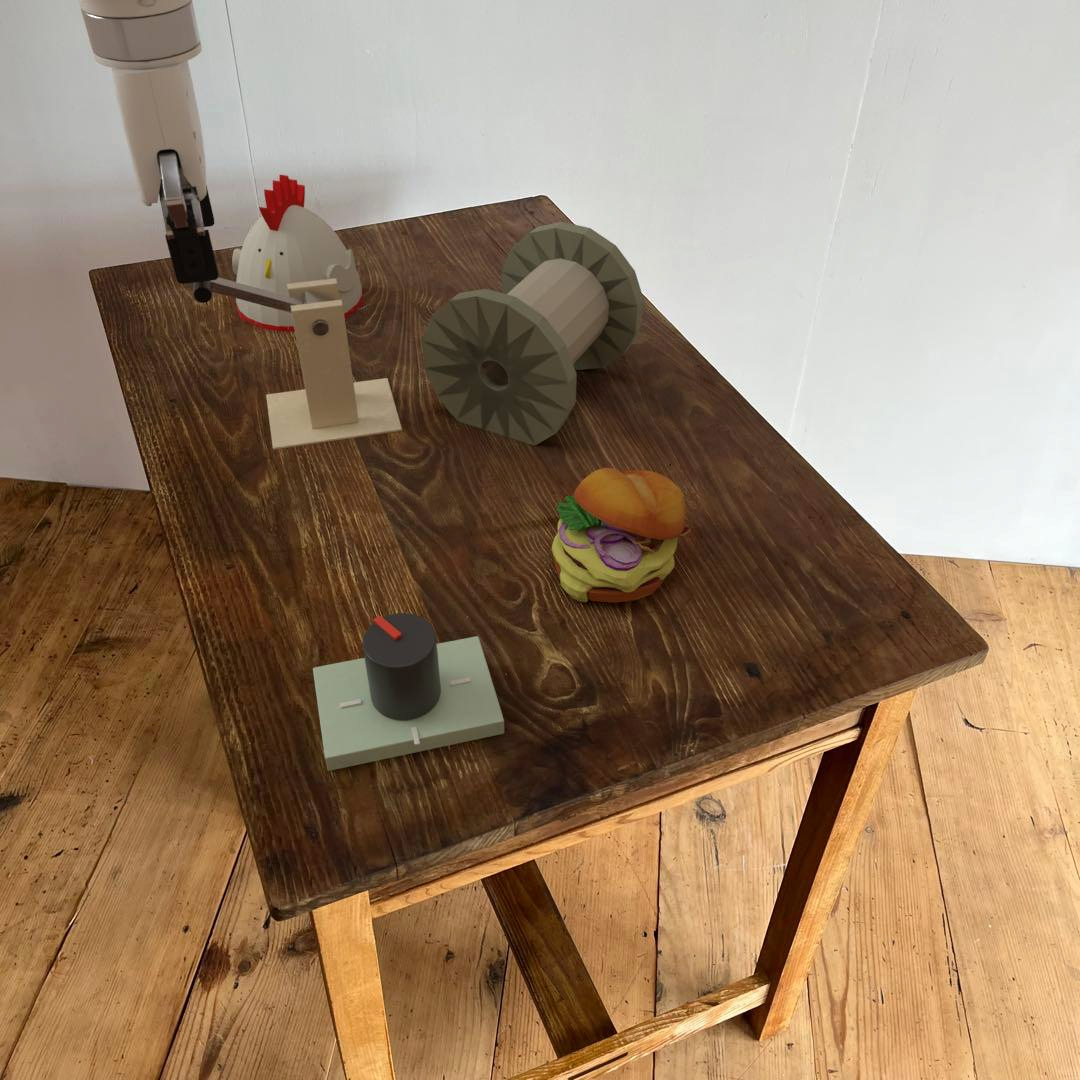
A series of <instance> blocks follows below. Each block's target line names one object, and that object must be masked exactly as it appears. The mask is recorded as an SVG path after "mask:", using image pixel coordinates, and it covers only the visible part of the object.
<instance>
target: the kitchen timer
mask: <svg viewBox="0 0 1080 1080" xmlns="http://www.w3.org/2000/svg"><path fill="white" fill-rule="evenodd" d="M278 178H279V179H278V180H274V179H273V180H272V189H266V188H264V189H263V193H264V202H265V206H266V207H264V206H263V207H262V206H259V207H258V210H259V212H260V217H259V218H258V219H257V220H256V221H255V223H253V225H252V226H251V228H250V229H249V231H248V233H247V235H246V237H245V239H244V241H243V244H242V246H241V249H240V248H235V249H234V250H233V252H232V257H231V258H232V259H231V261H232V262H231V264H232V271H233V274H234V275H235V276H236V281H235V282H237V283H241V284H244V285H248V286H252V287H255V288H259V289H262V290H266V291H270V292H273V293H277V294H281V295H284V296H288V297H289V294H288V289H287V284H291V283H299V282H308V281H316V280H325V279H333V278H336V280H337V284H338V291H339V298H340V300H342V304H343V310H344V317H345V319H347V318H350V316H351V315H353V314H354V312H356V311H357V310H358V309H359V307H361V306H364V295H363V294H364V293H363V286H362V281H361V279H360V276H359V273H358V270H357V267H356V262H355V257H354V252H353V250H352V248H349V249H347V248H346V246H345V244H344V243H343V241H342V240H341V239H340V237H339V236H338V234H337V233H336V232H335V230H334V229H333V228H332V227H331V226H330V224H329V223H327V221H325V220H324V219H323V218H322V217H321V216H319V215H318V214H317V213H315V212H313V211H312V210H310V209H308V208H306V207H305V202H306V201H305V200H306V199H305V198H306V186H305V184H298V180H297V179H293V178H289V175H286V174H279V176H278ZM235 304H236V308H237V313H238V317H239V319H240V321H247V322H248V323H249V324H250V325H253V326H256V327H259V328H261V329H265V330H269V331H270V330H271V331H276V332H295V329H294V323H293V317H292V313H289V312H286V311H282V310H278V309H274V308H271V307H267V306H263V305H260V304H256V303H252V302H248V301H245V300H241V299H237V298H235Z"/></svg>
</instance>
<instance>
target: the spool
mask: <svg viewBox="0 0 1080 1080" xmlns="http://www.w3.org/2000/svg"><path fill="white" fill-rule="evenodd" d="M641 289H642V288H641V286H640V283H639V280H638V277H637V273H636V270H635V269H634V267H633V266H632V265H631V263H630V262H629V261H628V259H627V258H626V257H625V255H624V254H623V253H622V251H621V250H620V249H619V248H618V246H617V245H616V244H615V243H613V242H612V241H610V240H609V239H607V238H606V237H604V236H603V235H602V234H600V233H599V232H597V231H595V230H594V229H592V228H591V227H587V226H583V225H578V224H575V223H570V222H565V221H559V222H554V223H549V224H544V225H540V226H536V227H535V228H534V229H532V230H531V231H530V232H528V234H526V235H525V236H524V237H523V238H522V239H520V240H519V241H518V242H517V243H516V244H514V245H513V246H512V247H511V248H510V250H509V252H508V255H507V257H506V259H505V261H504V264H503V267H502V269H501V292H499V291H495V290H491V289H488V288H482V289H481V288H480V289H475V290H469V291H463V292H459V293H457V294H456V295H455V296H453V297H452V298H451V299H449V300H448V301H447V302H446V303H445V304H444V305H442V306H441V307H440V308H439V309H438V310H436V311H435V312H434V313H433V314H431V315H430V316H429V320H428V323H427V325H426V327H425V330H424V333H423V336H422V339H421V346H422V357H423V368H424V371H425V373H426V375H427V378H428V380H429V382H430V384H431V387H432V389H433V391H434V394H435V396H436V397H437V399H438V400H439V401H440V402H441V403H442V405H443V406H444V407H445V408H446V409H447V411H448V412H449V413H450V414H451V416H452V417H453V418H454V419H455V421H457V422H459V423H461V424H465V425H469V426H471V427H475V428H477V429H481V430H484V431H487V432H489V433H493V434H497V435H500V436H503V437H505V438H509V439H512V440H515V441H519V442H521V443H524V444H528V445H530V446H537V445H539V444H540V443H542V442H543V441H545V440H547V439H549V438H551V437H553V436H554V435H556V434H557V433H558V432H559V431H560V430H561V428H562V427H563V426H564V425H565V424H566V421H567V419H568V417H569V416H570V414H571V412H572V410H573V409H574V406H575V405H576V403H577V402H576V401H577V372H576V370H577V371H581V370H582V371H583V370H592V369H602V368H605V367H606V366H608V365H609V364H611V363H612V362H614V361H617V359H619V358H621V357H623V355H625V354H626V353H627V351H628V350H629V349H630V347H631V345H632V344H633V342H634V340H635V339H636V338H637V335H638V333H639V332H640V330H641V328H642V325H643V315H644V314H643V313H644V302H645V299H644V295H643V293H642V290H641Z"/></svg>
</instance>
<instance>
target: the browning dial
mask: <svg viewBox="0 0 1080 1080" xmlns="http://www.w3.org/2000/svg"><path fill="white" fill-rule="evenodd" d="M361 643H362V645H361V646H362V651H363V658H365V664H366V670H367V676H368V682H369V689H370V695H371V700H372V703H373V705H374V707H375V708H376V709H377V711H378V712H380V713H381V714H382V715H384V716H386V717H388V718H391V719H395V720H411V719H415V718H418V717H421V716H423V715H425V714H426V713H428V712H429V711H430V710H432V709H433V708H434V706H435V705H436V704H437V702H438V700H439V698H440V694H441V685H440V673H439V662H438V651H437V644H438V639H437V633H436V631H435V628H434V627H433V625H432V623H430V621H428V620H427V619H425V618H424V617H422V616H419V615H418V614H413V613H407V612H397V613H392V614H387V615H385V616H382V615H378V616H376V617H375V618H373V622H372V624H370V625H369V626H368V628H367V629H366V631H365V632H364V634H363V637H362V642H361Z"/></svg>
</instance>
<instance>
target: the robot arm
mask: <svg viewBox="0 0 1080 1080" xmlns="http://www.w3.org/2000/svg"><path fill="white" fill-rule="evenodd" d="M78 3H79V7H80V11H81V15H82V18H83V21H84V25H85V26H84V27H85V29H86V33H87V36H88V39H89V43H90V46H91V50H92V54H93V58H94V60H95V61H96V62H97V63H98V64H100V65H101V66H104V67H107V68H111V71H112V72H111V73H112V79H113V84H114V89H115V90H114V91H115V95H116V101H117V104H118V109H119V113H120V117H121V121H122V126H123V131H124V135H125V139H126V142H127V147H128V152H129V155H130V159H131V163H132V167H133V171H134V175H135V179H136V184H137V188H138V192H139V198H140V202H142V204H144V206H146V207H152V206H153V205H152V204H158V201H159V202H160V206H161V213H162V218H163V223H164V229H165V233H166V234H165V235H164V236H165V241H166V245H167V248H168V252H169V257H170V260H171V264H172V268H173V272H174V276H175V279H176V282H177V283H178V284H180V285H186V284H193V283H195V282H203V281H211V280H216V279H217V278H218V277H219V270H218V266H217V262H216V257H215V253H214V252H215V251H214V247H213V243H212V240H211V235H210V230H209V229H205V228H208V227H209V228H210V227H214V225H215V216H214V212H213V207H212V203H211V199H210V194H209V189H208V185H207V169H206V156H205V146H204V145H205V144H204V137H203V131H202V124H201V117H200V113H199V108H198V104H197V99H196V94H195V93H196V92H195V88H194V83H193V78H192V74H191V69H190V64H189V61H190V60H192V59H194V58H195V57H197V56H198V55H199V54H201V52H202V49H203V46H202V42H201V36H200V32H199V27H198V22H197V17H196V14H195V13H196V12H195V8H194V3H193V0H78Z"/></svg>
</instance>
